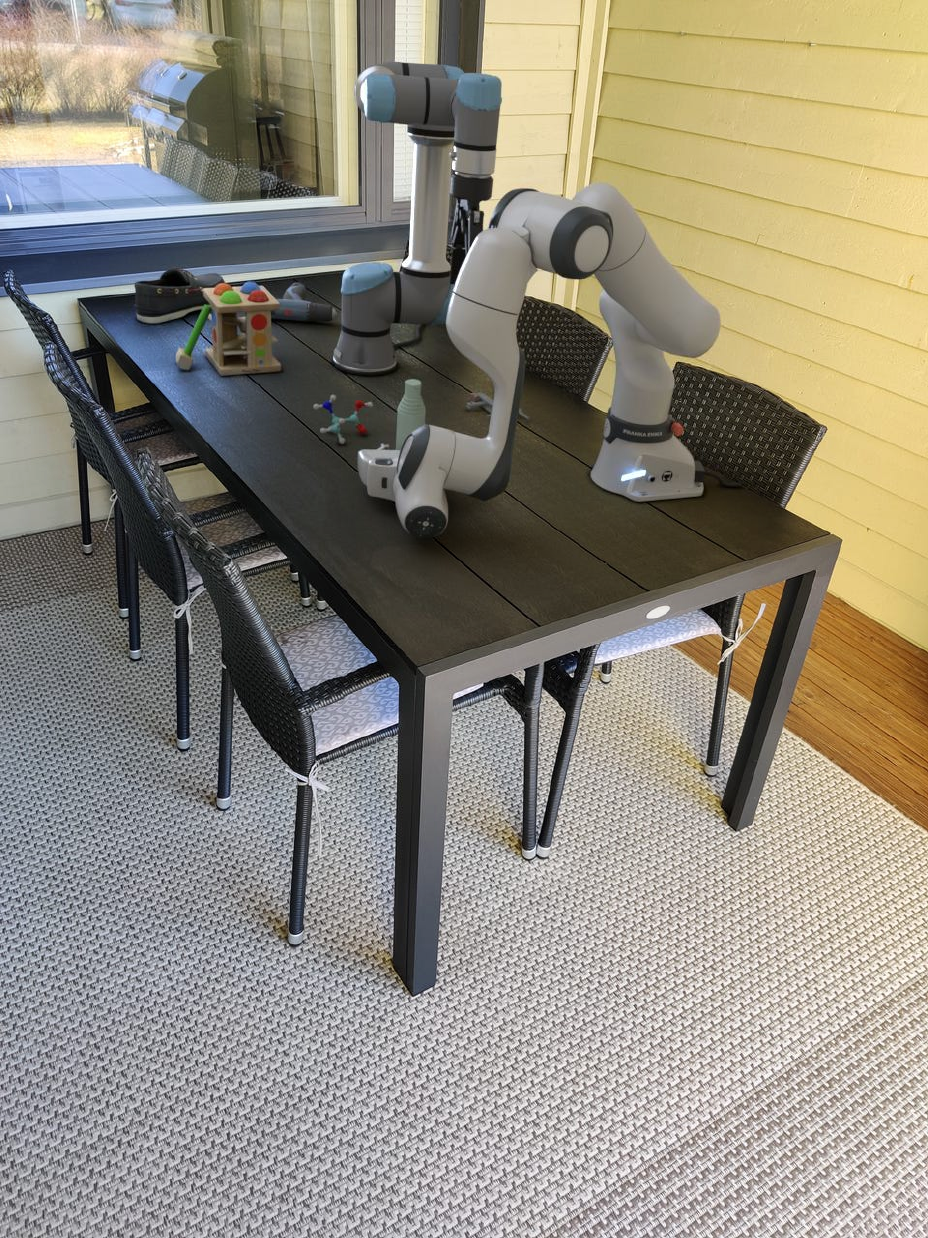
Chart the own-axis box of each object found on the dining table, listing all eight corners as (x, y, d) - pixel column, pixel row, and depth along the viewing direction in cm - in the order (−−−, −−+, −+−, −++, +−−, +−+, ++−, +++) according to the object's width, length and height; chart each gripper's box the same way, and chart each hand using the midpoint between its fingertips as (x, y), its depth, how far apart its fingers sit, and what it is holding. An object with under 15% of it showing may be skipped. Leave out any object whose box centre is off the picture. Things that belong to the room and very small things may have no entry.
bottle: (394, 471, 192) (398, 376, 181) (420, 472, 192) (427, 377, 181) (394, 483, 187) (399, 386, 176) (421, 484, 188) (428, 388, 177)
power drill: (344, 304, 276) (335, 327, 259) (277, 298, 275) (264, 321, 258) (344, 285, 273) (335, 306, 256) (277, 279, 272) (264, 300, 255)
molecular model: (360, 436, 195) (343, 387, 193) (320, 451, 198) (303, 403, 197) (383, 432, 205) (367, 385, 204) (345, 446, 209) (329, 401, 207)
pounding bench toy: (183, 379, 220) (176, 299, 210) (169, 357, 231) (162, 280, 221) (282, 371, 230) (280, 294, 220) (264, 350, 240) (262, 276, 230)
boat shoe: (245, 302, 271) (243, 263, 266) (154, 325, 248) (149, 283, 242) (211, 293, 277) (208, 255, 272) (119, 316, 253) (114, 274, 248)
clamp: (458, 394, 221) (496, 389, 226) (457, 403, 222) (495, 398, 227) (493, 419, 211) (531, 413, 215) (492, 429, 212) (530, 423, 216)
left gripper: (440, 158, 183) (433, 274, 195) (464, 187, 163) (454, 315, 175) (480, 160, 184) (470, 275, 196) (508, 190, 164) (495, 316, 176)
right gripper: (475, 465, 175) (464, 433, 186) (360, 463, 172) (356, 430, 183) (472, 497, 178) (461, 463, 190) (359, 495, 175) (355, 461, 186)
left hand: (462, 294), depth 185 cm, fingers open, 13 cm apart
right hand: (409, 447), depth 186 cm, fingers open, 8 cm apart
